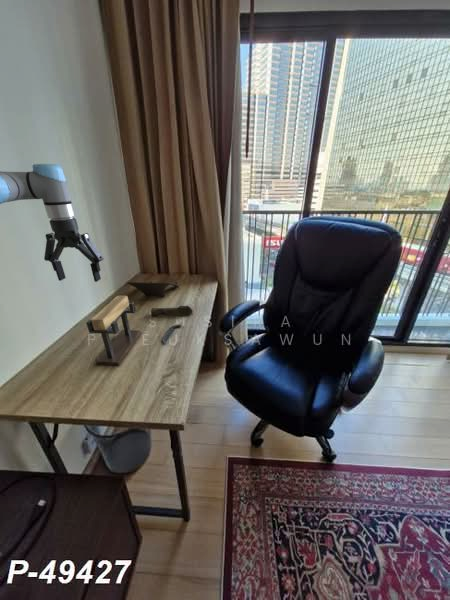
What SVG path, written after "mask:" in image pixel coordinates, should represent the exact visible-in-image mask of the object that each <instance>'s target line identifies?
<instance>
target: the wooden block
mask: <svg viewBox="0 0 450 600" xmlns="http://www.w3.org/2000/svg"><path fill="white" fill-rule="evenodd" d="M110 301H111V302H110ZM110 301H109V302H110V303H109V302H108V303H109V304H108V303H107V305H105V306H104V307H103V308H102V309H101V310H100V311H99V312H98V313H97V314H95V316H93V317H92V318H91V319H90V320H91V321H92V324H93V327H94V330H97V331H108V330H109V329H110V328H112V327H111V323H112V322H113V321H117V322H118V320H119V319H121V315H122V314H123V313H124V312H125V311H126V310H127V309H128V308H129V303H130V301H129V297H128V295H116V296H115V297H114V298H113V299H112V300H110Z"/></svg>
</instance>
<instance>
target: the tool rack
mask: <svg viewBox="0 0 450 600" xmlns="http://www.w3.org/2000/svg"><path fill="white" fill-rule="evenodd" d="M111 301H112V300H110V301H109V302H108V303H107V305H108V304H109V303H110V302H111ZM135 304H136V303H135V301H129V306H128V309H127V310H126V311H125V312H124V313H123V314H122V315H121V316H120V319H121V322H122V327H123V329H122V330H120V328H119V324H118V320H117V321H113V322H112V323H111V327H110V329H109V330H108V331H97V330H94V327H93V324H92V321H91V319H88V320H87V322H86V323H85V324H86V327H87V330H88V333H89V334H100V335H101V339H102V342H103V345H104V348H105V350H104V351H103V352H102V354H101V355H100V356H99V357H98V358H97V359H96V360H95V362H96V365H97V366H113V367H115V366H116V367H119V366H120V365H121V364H122V362H123V361H124V359H125V357H126V356H127V355H128V353H129V352H130V350H132V347H133V346H134V344H135V343H136V342H137V340H138V338H139V337H140V336H141V334H142V332H141V330H135V329H131V328H130V324H129V323H130V322H129V319H128V315H127V314H135V312H136V311H137V310H136V305H135ZM110 334H111V335H116V337H115V338H114V339H113V340H112V341H111V337H110Z"/></svg>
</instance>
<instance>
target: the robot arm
mask: <svg viewBox="0 0 450 600" xmlns="http://www.w3.org/2000/svg"><path fill="white" fill-rule="evenodd" d="M65 177H66V176H65V173H64V171H63V168H62V167H61V165H59V164H56V163H33V165H32V171H0V205H2V204H5V203H10V202H16V201H23V200H24V201H25V200H42V202H43V205H44V209H45V212H46V216H47V218H48V219H50V220H49V221H48V222H49V225H50V228H51V232H49V233H46V234H45V239H46V242H45V249H44V261H46V262H50V263H51V266H52V268H53V271H54V272H55V274H56V276H57V279H58V282H59V281H60V282H61V281H63V280H65V279H67V277H66V274H65V271H64V268H63V264H62V261H61V260H60V259H59V258H60V256H61V255H62V253H63V250H64V249H66V248H70V249H73V248H74V249H76V250H78V251H79V252H80V253H81V254H82V255H83V256H84V257H86V259H88V261H90V263H89V265H90V270H91V273H92V276H93V280H94V282H95V283H97V282H99V281H100V280H101V274H100V273H101V269H102V268H101V266H100V262H103V260H104V256H103V255H102V254H101V252H100V251H99V249H98V248H97V247H96V245H95V244H94V242H93V241H92V240H91V237H90V234H89V233H88V232H85V233H81V234H80V233H79V225H78V221H77V219H76V218H75V217H76V214H75V210H74V207H73V202H72V200H71V199H72V198H71V195H70V191H69V187H68V183H67V182H68V181H67V180H66V178H65ZM56 241H57V242H56Z"/></svg>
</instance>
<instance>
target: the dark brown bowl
mask: <svg viewBox="0 0 450 600" xmlns="http://www.w3.org/2000/svg"><path fill="white" fill-rule="evenodd" d="M126 284H127V285H130V286H132V287H133V288H136V289H137V290H138V291H140V292H141V293H142V294H143V296H144V297H146V298H147V297H149V298H151V297H157V298H164V297H165V290H166V288H167V287H171V288H175V289H180V285H179V284H178V282H177V281H176V282H175V283H171V282H153V281H150V282H146V281H145V282H144V281H143V282H141V281H140V282H138V281H126Z"/></svg>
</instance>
